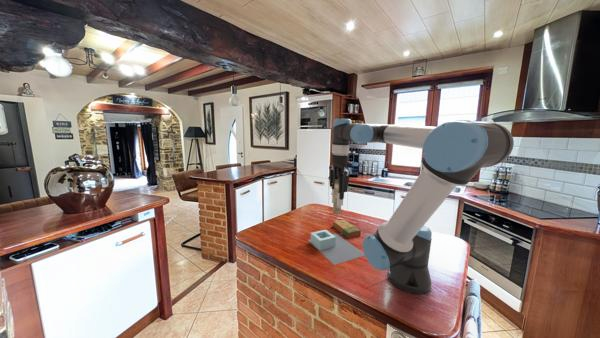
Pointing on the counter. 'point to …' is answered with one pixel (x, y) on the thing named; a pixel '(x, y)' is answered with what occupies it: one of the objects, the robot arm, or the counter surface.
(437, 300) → the counter surface
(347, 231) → the carton
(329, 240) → the rectangular frame
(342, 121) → the robot arm
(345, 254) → the mat
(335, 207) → the tan wooden dowel
